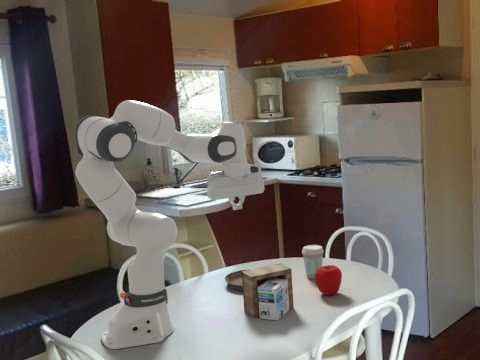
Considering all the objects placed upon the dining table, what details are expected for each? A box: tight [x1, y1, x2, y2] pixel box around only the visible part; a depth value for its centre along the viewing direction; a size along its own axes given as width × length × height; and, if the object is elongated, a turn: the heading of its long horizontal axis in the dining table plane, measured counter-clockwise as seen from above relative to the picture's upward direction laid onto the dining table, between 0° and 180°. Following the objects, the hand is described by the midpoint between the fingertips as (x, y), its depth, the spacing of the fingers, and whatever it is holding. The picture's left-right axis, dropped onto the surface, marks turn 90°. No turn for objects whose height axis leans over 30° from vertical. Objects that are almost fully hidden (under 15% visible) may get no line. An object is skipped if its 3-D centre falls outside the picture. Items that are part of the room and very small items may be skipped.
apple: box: [314, 264, 343, 297], centre depth 207 cm, size 10×10×11 cm
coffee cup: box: [301, 244, 325, 280], centre depth 227 cm, size 9×8×12 cm
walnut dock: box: [242, 263, 295, 319], centre depth 195 cm, size 15×8×14 cm, turn 114°
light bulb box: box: [258, 278, 290, 321], centre depth 191 cm, size 11×7×11 cm, turn 154°
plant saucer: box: [224, 268, 251, 292], centre depth 225 cm, size 21×21×3 cm
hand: (237, 209), depth 198 cm, fingers closed
